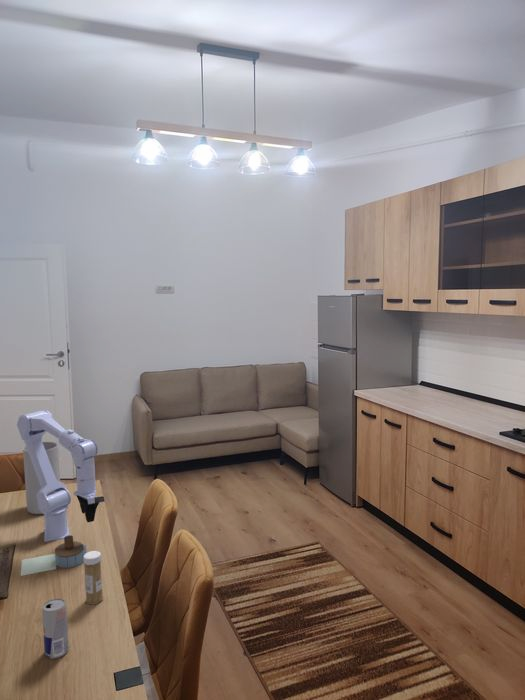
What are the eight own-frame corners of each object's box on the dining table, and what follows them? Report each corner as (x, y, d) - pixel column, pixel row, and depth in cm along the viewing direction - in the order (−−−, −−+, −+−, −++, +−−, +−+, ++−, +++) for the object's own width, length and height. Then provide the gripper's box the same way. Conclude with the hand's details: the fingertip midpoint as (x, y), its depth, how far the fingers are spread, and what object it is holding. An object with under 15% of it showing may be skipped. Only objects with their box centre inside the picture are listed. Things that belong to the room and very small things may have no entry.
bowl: (55, 556, 169) (54, 546, 168) (85, 550, 172) (85, 540, 172) (56, 570, 160) (55, 559, 160) (87, 564, 164) (87, 553, 163)
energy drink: (48, 644, 127) (45, 598, 126) (71, 643, 128) (68, 597, 126) (41, 660, 122) (38, 612, 121) (65, 658, 122) (62, 610, 121)
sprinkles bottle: (105, 601, 145) (102, 555, 143) (88, 607, 142) (85, 560, 140) (100, 593, 148) (98, 548, 147) (83, 598, 146) (81, 553, 144)
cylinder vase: (38, 501, 213) (34, 441, 209) (67, 502, 211) (64, 442, 208) (20, 514, 200) (16, 450, 197) (50, 516, 199) (47, 452, 195)
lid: (54, 546, 168) (53, 534, 167) (82, 541, 171) (81, 529, 171) (55, 559, 160) (54, 546, 160) (84, 553, 163) (83, 540, 163)
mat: (22, 560, 166) (21, 559, 166) (55, 554, 170) (55, 553, 170) (20, 576, 157) (20, 575, 157) (56, 569, 161) (56, 568, 161)
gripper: (69, 472, 176) (71, 511, 178) (77, 487, 164) (79, 528, 165) (90, 469, 180) (92, 507, 181) (100, 482, 167) (102, 523, 169)
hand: (87, 517), depth 174 cm, fingers open, 7 cm apart
